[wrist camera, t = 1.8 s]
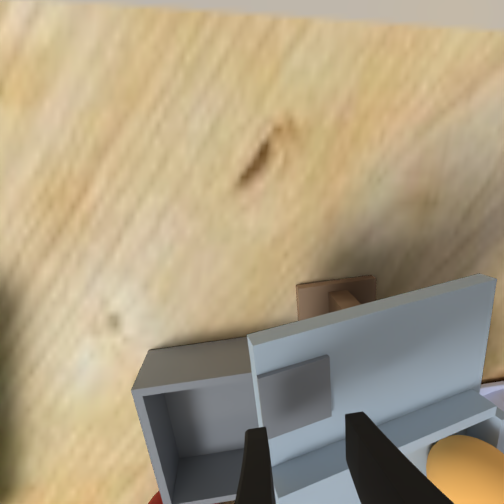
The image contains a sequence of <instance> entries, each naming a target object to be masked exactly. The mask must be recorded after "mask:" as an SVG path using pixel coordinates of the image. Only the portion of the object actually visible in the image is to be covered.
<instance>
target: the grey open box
mask: <svg viewBox="0 0 504 504" xmlns="http://www.w3.org/2000/svg"><path fill="white" fill-rule="evenodd" d="M131 392H132V395H133V399H134V402H135V406H136V410H137V413H138V417H139V420H140V424H141V427H142V431H143V434H144V438H145V441H146V445H147V448H148V452H149V456H150V459H151V463H152V466H153V470H154V473H155V477H156V480H157V484H158V487H159V491H160V495H161V498H162V502H163V504H214V503H220V502H226V501H232V500H235V499H236V494H237V489H238V484H239V479H240V473H241V467H242V461H243V453H244V442H245V432H246V431H247V430H248V429H253V428H259V424H258V417H257V409H256V401H255V393H254V386H253V378H252V370H251V362H250V355H249V347H248V339H247V337H241V338H234V339H227V340H220V341H212V342H205V343H198V344H191V345H184V346H177V347H170V348H163V349H156V350H149V351H148V353H147V355H146V357H145V360H144V362H143V364H142V367H141V369H140V371H139V373H138V376H137V378H136V380H135V382H134V385H133V387H132V389H131Z"/></svg>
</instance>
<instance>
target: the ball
mask: <svg viewBox="0 0 504 504" xmlns="http://www.w3.org/2000/svg"><path fill="white" fill-rule="evenodd" d="M426 474H427V478H428V479H429V480H430V481H431V482H432V483H433V484H434V485H435V486H436V487H437V488H438V489H439V490H440V491H441V492H442V493H444V494H445V495H446V496H447V497H448V498H449V499H450V500H451V501H452V502H453V503H454V504H504V454H503V453H502V452H501V451H500V450H498V449H497V448H495V447H494V446H492V445H491V444H489V443H487V442H485V441H483V440H480V439H478V438H475V437H471V436H465V435H452V436H448V437H445V438H443V439H441V440H439V441H438V442H437V443H436V444H435V445H434V446H433V447H432V448H431V450H430V452H429V454H428V457H427V463H426Z"/></svg>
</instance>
